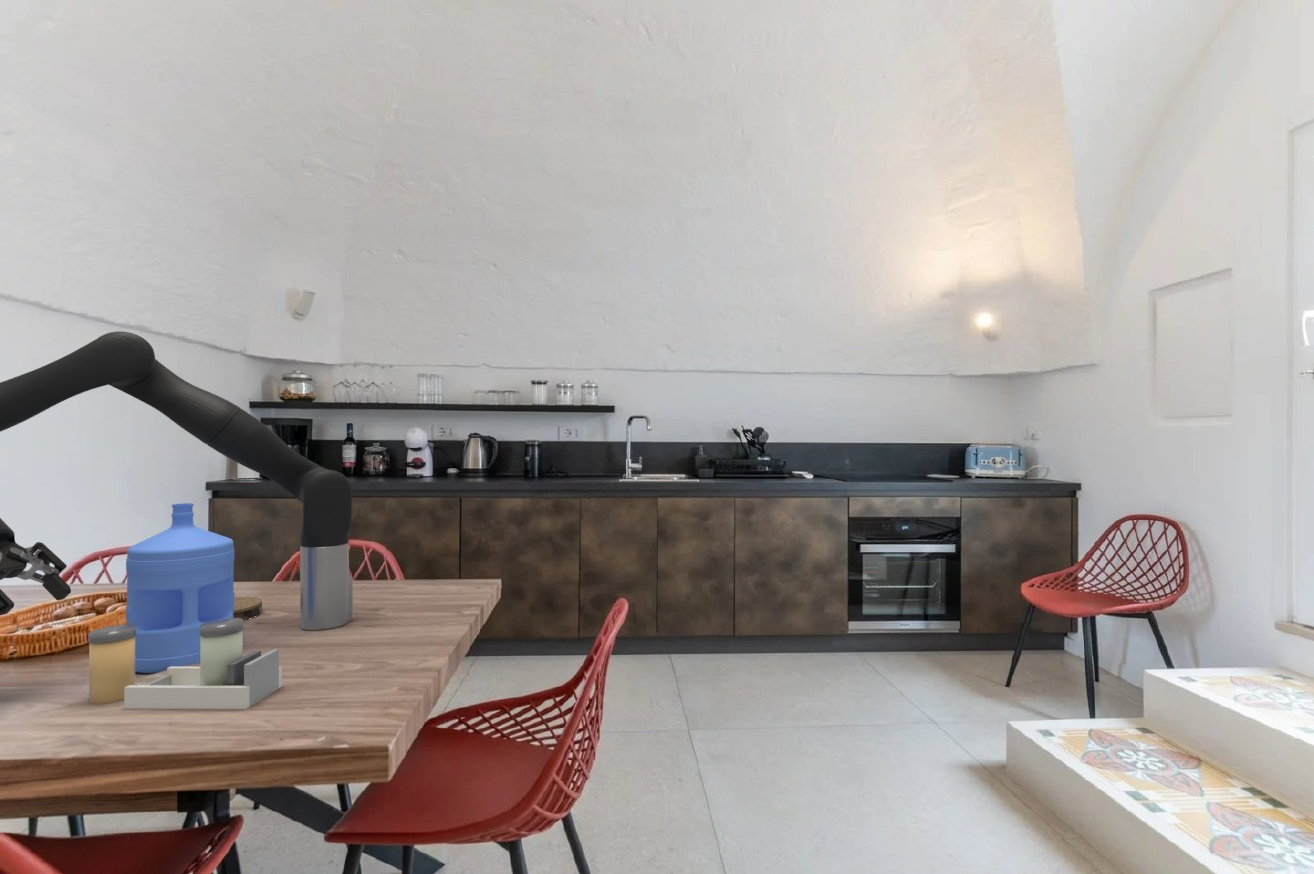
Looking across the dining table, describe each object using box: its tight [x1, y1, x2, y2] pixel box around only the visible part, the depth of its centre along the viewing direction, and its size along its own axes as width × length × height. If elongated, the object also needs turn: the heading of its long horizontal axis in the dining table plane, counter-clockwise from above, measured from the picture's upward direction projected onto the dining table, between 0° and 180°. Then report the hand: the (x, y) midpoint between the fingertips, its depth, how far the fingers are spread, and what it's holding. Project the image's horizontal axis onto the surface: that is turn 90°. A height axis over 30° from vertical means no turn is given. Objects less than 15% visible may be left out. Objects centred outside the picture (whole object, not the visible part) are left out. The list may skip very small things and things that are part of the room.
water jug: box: [125, 502, 236, 674], centre depth 113 cm, size 16×16×28 cm
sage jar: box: [199, 618, 244, 686], centre depth 94 cm, size 5×5×11 cm
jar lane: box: [123, 648, 283, 710], centre depth 94 cm, size 18×8×7 cm, turn 89°
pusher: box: [227, 650, 262, 686], centre depth 94 cm, size 2×6×6 cm, turn 179°
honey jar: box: [87, 624, 136, 705], centre depth 94 cm, size 5×5×11 cm
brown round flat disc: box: [233, 596, 263, 620], centre depth 140 cm, size 16×16×3 cm
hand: (38, 603), depth 94 cm, fingers open, 8 cm apart
